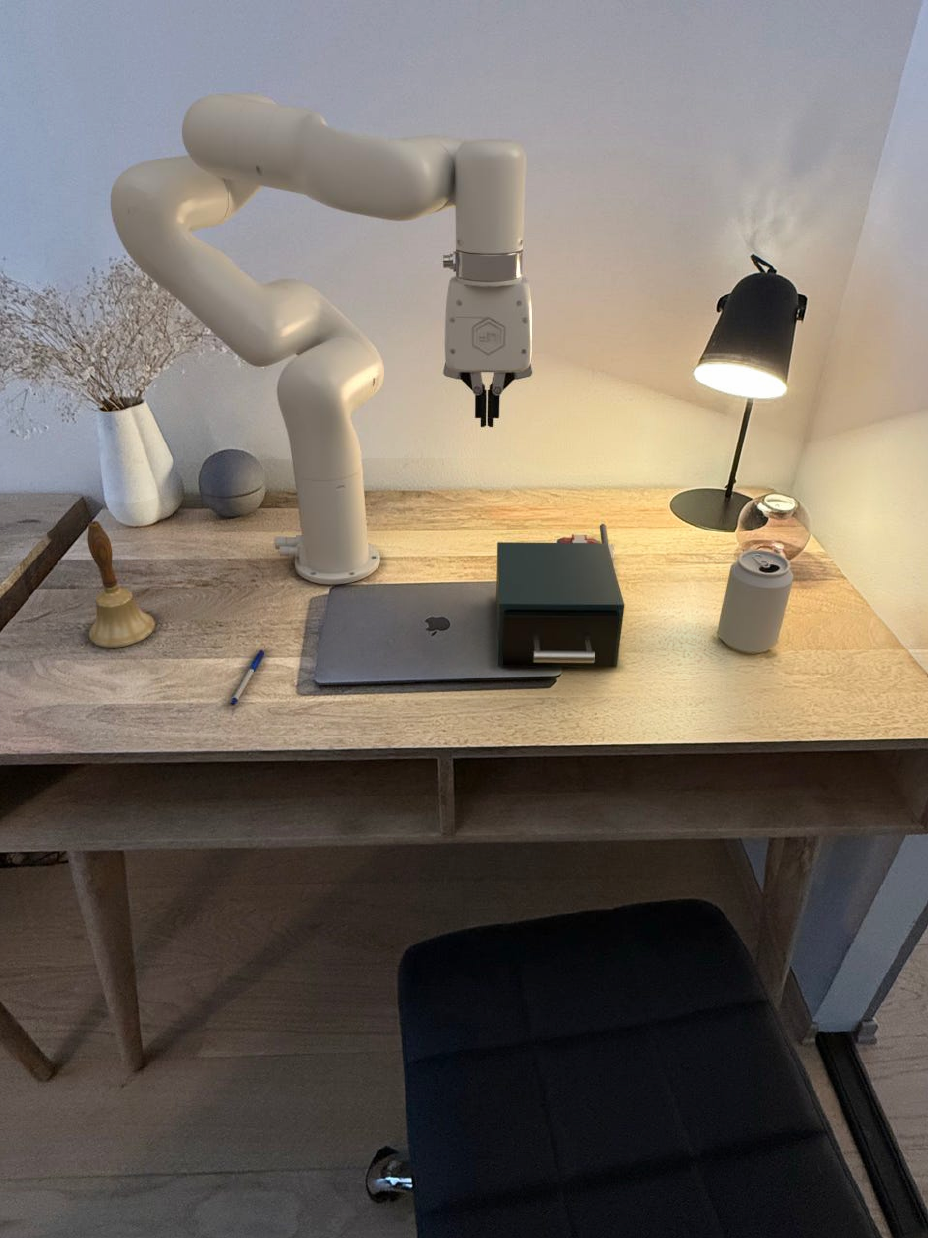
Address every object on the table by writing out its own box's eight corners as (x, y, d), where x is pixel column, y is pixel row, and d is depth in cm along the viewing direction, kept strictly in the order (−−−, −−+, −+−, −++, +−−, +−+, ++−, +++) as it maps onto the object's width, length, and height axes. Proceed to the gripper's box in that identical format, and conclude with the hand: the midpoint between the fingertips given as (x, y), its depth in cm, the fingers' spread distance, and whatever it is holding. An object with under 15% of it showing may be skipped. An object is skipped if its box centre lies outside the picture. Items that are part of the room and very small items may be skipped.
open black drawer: (619, 692, 97) (626, 641, 93) (503, 691, 97) (505, 639, 93) (600, 605, 112) (605, 557, 108) (500, 604, 113) (501, 557, 109)
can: (744, 663, 103) (763, 581, 96) (704, 633, 108) (719, 553, 102) (788, 647, 106) (810, 566, 99) (747, 618, 111) (764, 540, 105)
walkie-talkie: (618, 599, 115) (608, 533, 132) (621, 572, 113) (611, 508, 130) (555, 597, 116) (553, 531, 133) (557, 569, 114) (555, 506, 130)
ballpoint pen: (258, 653, 105) (257, 647, 104) (265, 654, 105) (264, 647, 104) (230, 706, 96) (229, 699, 96) (238, 706, 96) (236, 700, 96)
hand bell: (168, 619, 111) (142, 512, 103) (128, 653, 105) (97, 542, 96) (117, 608, 114) (87, 503, 105) (75, 641, 107) (40, 532, 98)
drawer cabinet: (616, 667, 102) (624, 604, 97) (497, 666, 102) (499, 603, 97) (601, 601, 115) (608, 542, 110) (495, 600, 115) (497, 541, 110)
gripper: (420, 272, 90) (425, 434, 100) (558, 273, 90) (548, 434, 100) (424, 259, 96) (428, 412, 106) (553, 260, 96) (544, 413, 106)
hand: (486, 423), depth 103 cm, fingers closed
